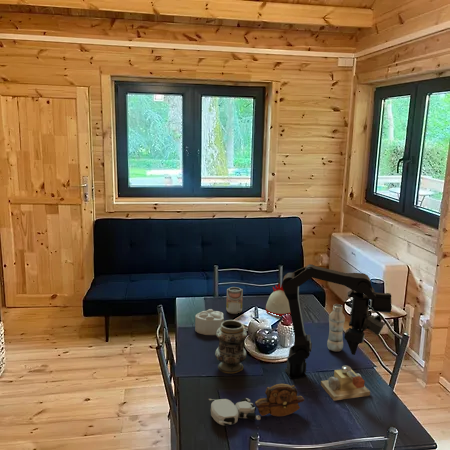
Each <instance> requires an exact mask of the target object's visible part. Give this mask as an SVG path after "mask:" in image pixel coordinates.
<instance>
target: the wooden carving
mask: <svg viewBox="0 0 450 450" xmlns="http://www.w3.org/2000/svg"><path fill="white" fill-rule="evenodd" d="M264 393H265V395H266V397H262V398H258V399H257V400H256V401H255V402H254V406H255V407H256V409H257V410H258V413H259V414H260V415H259V416H263V417H264V416H266V415H268V414H270V415H271V416H274V417H285V416H289V415H292V414H294V413H295V412H297V411H299V410H300V408H301V407H300V405H299V404H300V403H303V402H305V398H304V397H303V396H302V395H298V389H297V388H296V386H295V385H294V384H292V385H290V384H288V383H277V384H274V385H272V386H270V387H269V386H267V387H266V389H265V391H264Z"/></svg>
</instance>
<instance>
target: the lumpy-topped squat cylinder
mask: <svg viewBox="0 0 450 450" xmlns="http://www.w3.org/2000/svg"><path fill="white" fill-rule="evenodd" d="M224 317H225V316H224V313H223V312H222V311H219V310H214V309H212V308H209V309H207V310H202V311H200V312H198V313H196V314H195V319H194V320H195V321H194V322H195V323H194V324H195V326H194V328H195V329H194V330H195V332H197V333H198V334H201V335H205V336H217V335H216V332H217V330H218V329H219V328H220V327H221V323H222V322H224V321H225V318H224Z"/></svg>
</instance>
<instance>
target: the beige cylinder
mask: <svg viewBox="0 0 450 450" xmlns="http://www.w3.org/2000/svg"><path fill="white" fill-rule="evenodd" d="M243 289H244V288H240V287H237V286H231V287H229V288H227V289H226V305H225V307H226V312H227V313H229V314H231V315H237V314H238V313H239V314H240V313H242V311H243V296H244V295H243V292H244V290H243Z"/></svg>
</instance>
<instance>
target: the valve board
mask: <svg viewBox="0 0 450 450" xmlns="http://www.w3.org/2000/svg"><path fill="white" fill-rule="evenodd" d="M351 371H352V372H353V373H354V374H355V375H356V376H360V377H361V378H362V379H363V377H362V375H361V374H360V373H359V372H358V373H356V372H355V371H354V370H353V369H352V368H351ZM352 383H353V380H352V379H351V378H350V377H349V376H348V375H347V374H344V373H342V368H340V369H334V371H333V376H330V377H328V379H326V380H320V386H321V387H322V389H323V390H324V391H325V392H326V393H327V394H328V395H329V397H330V398H331V399H332V400H333V401H341V400H347V399H355V398H361V397H362V398H363V397H368V396H371V390H369V388H367V387H366V386H365V385H364V387H363V388H356V387H355V386H354V385H353V384H352Z"/></svg>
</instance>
